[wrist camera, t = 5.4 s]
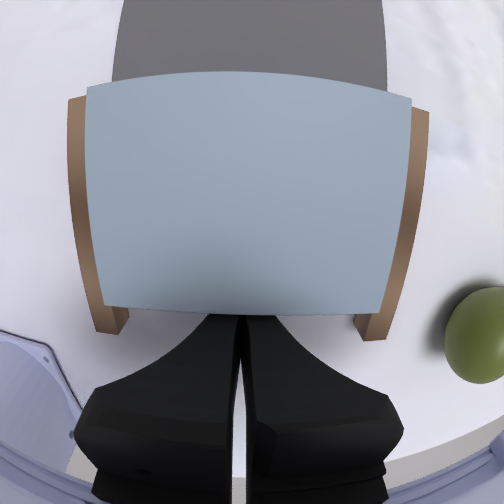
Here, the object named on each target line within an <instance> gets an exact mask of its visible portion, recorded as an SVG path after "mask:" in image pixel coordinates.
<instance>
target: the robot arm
mask: <svg viewBox="0 0 504 504" xmlns="http://www.w3.org/2000/svg"><path fill="white" fill-rule="evenodd" d="M240 359H241V365H242V375H243V385H244V394H245V404H246V504H504V430H503V431H502V432H500V433H499V434H498V435H497V436H496V437H495V438H494V440H492V442H491V443H490V445H489V446H486V447H485V448H483V449H481V450H480V451H478V452H476V453H474V454H472V455H470V456H469V457H467V458H465V459H463V460H461V461H459V462H457V463H455V464H453V465H451V466H449V467H446V468H444V469H442V470H440V471H438V472H435V473H433V474H430V475H428V476H425V477H423V478H420V479H417V480H415V481H412V482H409V483H406V484H404V485H401V486H398V487H394V488H392V489H388V490H386V486H385V483H384V480H383V477H382V476H383V475H385V474H386V468H385V465H384V462H383V461H384V459H385V458H386V457H387V456H388V455H389V454H390V452H391V451H392V450H393V449H394V448H395V447H396V445H397V444H398V442H399V441H400V439H401V437H402V435H403V431H404V427H403V425H402V423H401V420H400V418H399V416H398V413H397V411H396V409H395V407H394V406H393V404H392V402H391V401H390V399H389V397H388V395H385V394H383V393H380V392H378V391H375V390H373V389H371V388H368V387H366V386H364V385H361V384H359V383H357V382H355V381H353V380H351V379H349V378H348V377H346V376H344V375H342V374H340V373H339V372H337V371H335V370H334V369H332V368H331V367H329V366H328V365H326V364H325V363H323V362H322V361H320V360H319V359H318V358H316V357H315V356H314V355H312V354H311V353H310V352H309V351H308V350H306V349H305V348H304V347H303V346H302V345H301V344H300V343H299V342H298V341H297V340H296V339H295V338H294V337H293V336H292V335H291V334H290V333H289V332H288V331H287V329H286V328H285V327H284V326H283V325H282V323H281V322H280V321H279V319H278V318H277V317H276V315H238V314H211V313H209V314H208V315H207V316H206V318H205V319H204V320H203V321H202V322H201V323H200V324H199V325H198V327H197V328H196V329H195V330H194V331H193V332H192V333H191V334H190V335H189V336H188V337H187V338H186V339H184V340H183V341H182V342H181V343H180V344H179V345H177V346H176V347H175V348H174V349H172V350H171V351H170V352H168V353H167V354H166V355H164V356H163V357H161V358H160V359H158V360H157V361H155V362H153V363H152V364H150V365H148V366H146V367H145V368H143V369H141V370H139V371H137V372H135V373H133V374H131V375H129V376H127V377H124V378H122V379H119V380H117V381H114V382H112V383H109V384H106V385H104V386H101V387H98V388H95V390H94V391H93V393H92V395H91V396H90V398H89V399H88V401H87V403H86V405H85V407H84V409H83V411H82V410H81V409H80V407H79V405H78V403H77V402H76V400H75V398H74V396H73V395H72V393H71V391H70V389H69V387H68V385H67V383H66V381H65V379H64V378H63V376H62V374H61V371H60V369H59V367H58V365H57V363H56V361H55V359H54V357H53V354H52V352H51V350H50V349H49V348H48V347H47V346H46V345H43V344H39V343H36V342H32V341H29V340H25V339H22V338H19V337H16V336H12V335H9V334H6V333H3V332H0V504H232V450H233V414H234V403H235V396H236V389H237V381H238V374H239V367H240ZM76 443H77V445H78V446H79V448H80V449H81V451H82V452H83V453H84V454H85V455H86V456H87V458H88V459H89V460H90V461H91V462H92V463H93V464H94V465H95V467H96V468H97V469H98V470H97V474H96V477H95V480H94V483H93V484H92V483H89V482H87V481H84V480H81V479H79V478H76V477H73V476H71V475H69V474H66V473H65V471H66V469H67V466H68V463H69V461H70V458H71V456H72V453H73V451H74V448H75V446H76Z"/></svg>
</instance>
